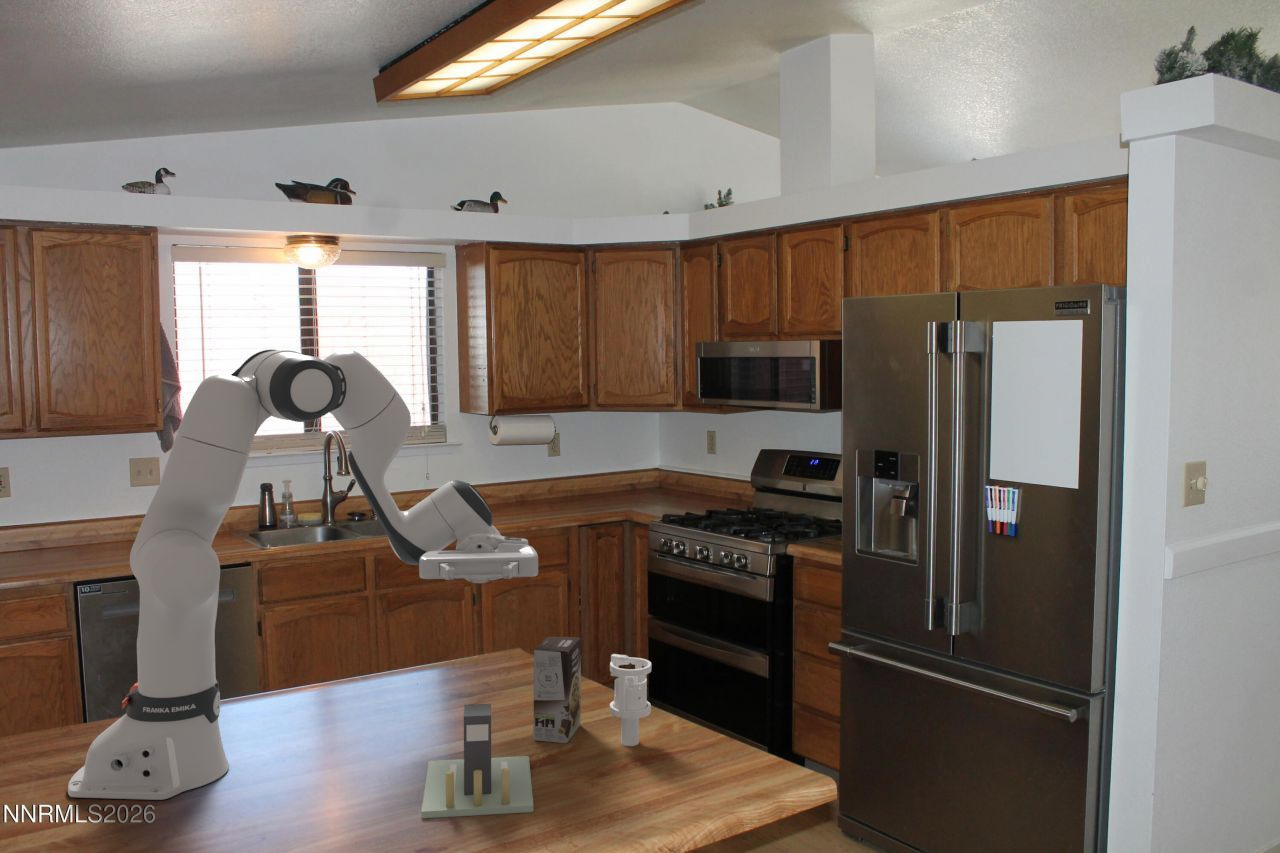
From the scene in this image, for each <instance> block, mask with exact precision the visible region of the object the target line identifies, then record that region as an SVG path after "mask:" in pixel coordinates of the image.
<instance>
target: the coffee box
mask: <svg viewBox="0 0 1280 853" xmlns="http://www.w3.org/2000/svg"><path fill="white" fill-rule="evenodd" d="M581 658H582V637H574V636H573V637H572V636H549V635H548V636H547V637H546V638H544V640H542V642H540V643H539V644H538V645H537V646H536V647H535V648H534V649H533V725H532V726H533V727H532V728H533V735H532V738H533V739H532V740H533V741H538V742H548V743H557V744H568V742H569V741H570V740H571V738H573V735H574V734H575V733H576V732H577V730H578V729H579V728H580V726H581V717H582V716H581V714H582V712H581V711H582V710H581V706H582V704H581V703H582V702H581V701H582V700H581V698H582V696H581V694H582V693H581V692H582V688H581V686H582V684H581V681H582V674H581V672H582V671H581V670H582V667H581V664H582V661H581V660H582V659H581Z"/></svg>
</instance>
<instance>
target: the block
mask: <svg viewBox="0 0 1280 853" xmlns="http://www.w3.org/2000/svg"><path fill="white" fill-rule="evenodd" d="M491 758H492V703H475V704H474V703H473V704H464V707H463V759H464V795H474V771H475V770H482V794H491Z"/></svg>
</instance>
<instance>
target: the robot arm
mask: <svg viewBox="0 0 1280 853" xmlns="http://www.w3.org/2000/svg"><path fill="white" fill-rule="evenodd" d="M410 412H411V411H410V409H409V408H408V406H407V404H406V403H405V401H404V399H403V397H402V396H401V395H400V393H399V392H398V391H397V389H395V387H394V386H393V385H392V382H390V381H389V380H388V379H387V377H385V376H384V374H383V373H382V372H381V371H380V370H379V369H378V368H377V367H376V366H375V365H374V364H373V363H372V362H371V361H369V359H367V358H366V357H365V356H364V355H363V354H361V353H359V352H357V351H355V350H352V349H344V350H343V349H342V350H338V351H336V352H333V353H331V354H330V355H328V356H326V358H324V359H321V358H318V357H316V356H313V355H305V354H302V353H300V352H298V351H294V350H286V349H285V350H284V349H279V350H278V349H265V350H261V351H258V352H256V353H254V354H252V355H251V356H250V357H248V358H247V359H245V361H244V362H243V363H242V364H241V365H240V367H238V368H237V369H236V370H235V371H233V373H232V374H215V375H211V376H209V377H206V378H205V379H203V381H201V382H200V384H199V385H198V387H197V388H196V390H195V392H194V394H193V396H192V397H191V400H190V401H189V403H188V405H187V407H186V409H185V411H184V414H183V416H182V419H181V421H180V423H179V426H178V429H177V431H176V435H175V438H174V440H173V444H172V447H171V449H170V453H169V455H168V459H167V462H166V465H165V467H164V470H163V474H162V477H161V480H160V482H159V484H158V487H157V490H156V491H155V494H154V496H153V498H152V500H151V501H150V504H149V506H148V509H147V511H146V514H145V515H144V517H143V520H142V522H141V524H140V527H139V530H138V531H137V534H136V537H135V540H134V542H133V545H132V547H131V550H130V553H129V566H130V570H131V572H132V574H133V575H134V577H135V579H136V580H137V584H138V586H139V587H138V588H139V616H138V630H137V639H136V658H137V663H136V664H137V682H136V683H134V685H132V686H131V687H130V689H129V692H128V693H126V695H125V697H124V698H125V699H124V700H122V702H121V704H122V707H121V708H122V709H123V710H125V714H123V715H122V716H121V717H120V718H118V719H117V720H115V722H113V723H112V724H111V725H109V726H108V727H107V728H105V730H103V731H102V732H101V733H100V734H99V735H98V736H96V738H94V740H93V741H92V742H91V744H90V746H89V748H88V750H87V753H86V757H85V761H84V762H85V763H84V765H83V766H82V767H81V768H79V769H78V770H77V771H76V772H75V773H74V774H73V776H72V777H71V778H70V780H69V782H68V785H67V794H68V796H69V797H70V798H85V799H86V798H87V799H117V800H118V799H119V800H121V799H123V800H124V799H125V800H152V801H153V800H154V801H155V800H156V801H158V800H159V801H162V800H163V801H164V800H166V799H169V798H172V797H174V796H177V795H179V794H181V793H183V792H186V791H189V790H192V789H196V788H199V787H202V786H205V785H209V784H210V783H212V782H214V781H217V780H218V779H220V778H221V777H222V776H224V775H225V774H226V772H228V770H229V767H230V764H229V762H228V761H229V760H228V759H227V756H226V753H225V750H224V746H223V741H222V736H221V731H220V723H219V717H220V713H221V696H220V695H221V693H220V688H219V681H218V679H216V644H215V641H216V640H215V638H216V637H215V636H216V634H215V633H216V622H217V614H218V605H219V596H220V595H219V594H220V593H219V591H220V580H221V565H220V560H219V557H218V555H217V553H216V551H215V550H214V548H212V545H213V542H214V540H215V537H216V535H217V533H218V531H219V529H220V527H221V524H222V522H223V520H224V519H225V516H226V514H227V513H228V511H229V509H230V508H231V507H232V505H233V504H234V502H235V499H236V497H237V494H238V491H239V487H240V484H241V481H242V478H243V475H244V473H245V469H246V465H247V462H248V461H249V460H248V459H249V457H250V454H251V450H252V446H253V444H254V440H255V436H256V434H257V433H258V430H259V429H260V427H261V426H262V425H263V424H264V422H265V421H266V420H268V419H269V418H271V417H273V418H277V419H280V420H285V421H286V420H287V421H292V422H297V423H306V422H307V423H308V422H311V421H314V420H315V421H316V420H317V419H320V418H322V417H324V416H325V415H327V414H329V413H330V414H331V415H332V416H333V417H334V418H335V420H336V421H337V423H338V424H339V425H340V426H341V427H342V428H343V429H344V431H345V432H346V435H347V436H348V438H349V439H348V440H349V441H350V450H349V452H348V454H347V461H348V465H349V467H350V471H351V473H352V474H353V477H354V478H355V481H356V482H357V485H358V486H359V488H360V489H361V491H362V493H363V495H364V497H365V499H366V501H367V502H368V504H369V505H370V507H371V509H372V511H373V512H374V515H375V516H376V518H377V520H378V522H379V523H380V525H381V526H382V528H383V531H384V532H385V534H386V536H387V539H388V540H387V541H388V542H389V545H390V547H391V549H392V550H393V553H394V554H395V555H396V556H397V557H398V558H399V559H400V560H401V561H402V562H403V564H407V565H412V566H413V565H414V566H418V572H419V573H418V574H419V578H421V579H424V580H440V579H441V580H445V581H451V580H456V579H464V580H466V581H468V582H470V583H474V584H484V583H489V582H490V581H495V580H499V579H513V578H526V577H528V578H529V577H530V578H533V577H537V576H538V574H539V555H538V553H537V551H536V549H535V548H534V547H533V546H531V545H529V540H528V539H526V538H521V537H510V536H503V535H502V534H501V533H500V531H499V530H498V528H496V527H495V525H493V518H494V517H493V512H492V510H491V508H490V506H489V504H488V502H487V501H486V500H485V498H484V497H483V495H482V494H481V493H480V492H479V491H478V489H476V488H475V487H474V486H473V485H472V484H470V483H468V482H465V481H462V480H457V479H451V480H449V481H448V482H446V483H444V484H443V485H442V486H440V487H439V488H437V489H436V490H435V491H433V492H431V493H430V495H428V496H426V497H425V498H424V499H422V500H421V501H419V502H418V503H416V504H415V505H414V506H412V507H411V508H409V509H407V510H400V508H399V507H398V505H397V504H396V502H395V500H394V498H393V496H392V495H391V493H390V491H389V489H388V487H387V486H386V484H385V482H384V481H385V479H384V478H385V474H386V472H387V470H388V468H389V466H390V465H391V463H392V462H393V460H394V459H395V457H396V456H397V455H398V453H399V452H400V451H401V449H403V446H404V445H405V443H406V440H407V438H408V437H409V433H410V429H411V426H412V425H411V424H412V423H411V422H412V420H411V419H412V418H411V413H410ZM455 541H457V542H456V544H455V545H456V546H455V550H444V549H445V548H447V547H448V546H449V545H451V544H452V543H454V542H455Z"/></svg>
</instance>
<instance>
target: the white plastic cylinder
mask: <svg viewBox="0 0 1280 853" xmlns="http://www.w3.org/2000/svg"><path fill="white" fill-rule="evenodd" d="M630 664H631V665H634V668H633V669H628V668H620V666H625V665H630ZM609 671H610V676H611V677H617V678H615V679H614V694H613V696H614V697H613V698H614V699H613V700H612V701H611V702H610V703H609V714H611V715H612V716H614V717H616V718H619V719H621V722H620V726H621V727H620V730H621V732H620V736H621V737H620V738H621V739H620V743H621V745H622V746H625V747H635V746H637V745H639V743H640V719H641V718H646V717H647V716H649V715H650V714H651V713H652V705H651V703H650V702H649V701H648V700H647V696H648V695H647V694H648V693H647V692H648V691H647V690H648V687H647V685H648V678H647V675H649V674H650V673H651V672H652V662H651V661H650V660H648V659H646V658H641V657H629V656H628V655H627V654H618V653H612V654H611V655H610V662H609Z"/></svg>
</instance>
